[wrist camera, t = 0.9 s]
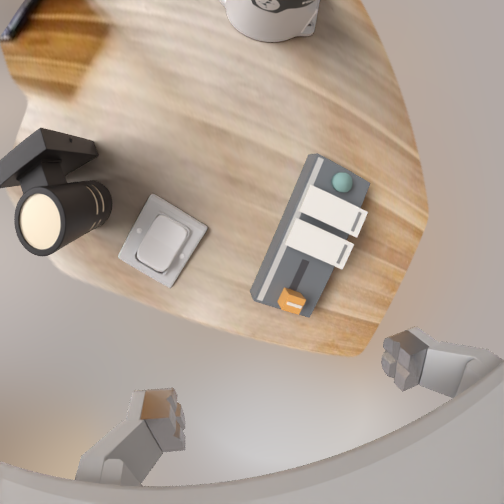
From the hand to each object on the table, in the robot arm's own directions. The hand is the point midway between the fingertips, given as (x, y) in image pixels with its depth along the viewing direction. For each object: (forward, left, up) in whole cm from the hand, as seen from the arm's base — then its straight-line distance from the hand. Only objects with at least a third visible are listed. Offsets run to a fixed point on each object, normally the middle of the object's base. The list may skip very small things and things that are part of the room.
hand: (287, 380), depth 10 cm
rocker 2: (-3, +15, -34) cm, 37 cm away
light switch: (+7, -8, -40) cm, 42 cm away
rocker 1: (-8, +15, -34) cm, 38 cm away
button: (-13, +15, -35) cm, 40 cm away
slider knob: (+8, +15, -35) cm, 39 cm away
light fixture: (+3, -24, -40) cm, 46 cm away
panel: (-3, +15, -39) cm, 42 cm away
